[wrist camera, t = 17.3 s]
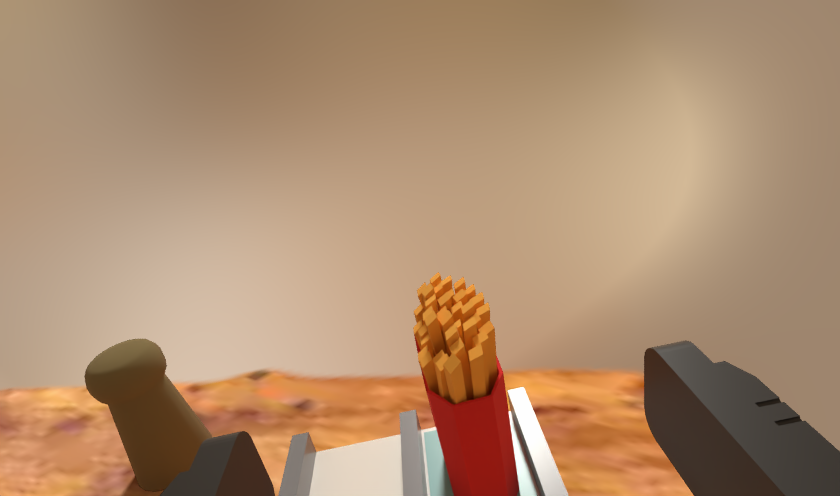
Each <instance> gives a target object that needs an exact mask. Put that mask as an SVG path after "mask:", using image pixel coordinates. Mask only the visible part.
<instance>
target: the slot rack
mask: <svg viewBox="0 0 840 496" xmlns="http://www.w3.org/2000/svg"><path fill="white" fill-rule="evenodd" d="M507 391H508V397H509V403H510V409H511V411H509V418H510V426H511V433H512V440H513V447H514V454H515V461H516V468H517V475H518V482H519V492H518V494H517V496H568V493H567V491H566V488H565V486H564V484H563V481H562V479H561V476H560V474H559V471H558V469H557V467H556V464H555V462H554V459H553V457H552V454H551V452H550V450H549V447H548V445H547V442H546V440H545V437H544V435H543V433H542V430H541V428H540V425H539V423H538V420H537V418H536V416H535V413H534V411H533V408H532V406H531V403H530V401H529V399H528V396H527V394H526V391H525V389H524V387H521V388H516V389H511V390H507ZM400 433H401V434H400V435H395V436H391V437H386V438H381V439H376V440H372V441H367V442H362V443H357V444H353V445H348V446H343V447H338V448H334V449H329V450H324V451H319V452H316V450H315V447H314V445H313V442H312V440H311V437H310V435H309V432H308V433H303V434H298V435H294V436H292V440H291V444H290V448H289V453H288V457H287V461H286V466H285V470H284V474H283V479H282V483H281V487H280V491H279V496H454V494H453V491H452V487H451V483H450V479H449V475H448V472H447V468H446V464H445V460H444V456H443V453H442V449H441V445H440V441H439V437H438V433H437V430H436V427H433V428H429V429H424V430H421V427H420V424H419V420H418V416H417V413H416V410H412V411H407V412H402V413H400Z"/></svg>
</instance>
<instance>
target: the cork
mask: <svg viewBox="0 0 840 496" xmlns="http://www.w3.org/2000/svg"><path fill="white" fill-rule="evenodd" d="M166 366H167V365H166V359H165V357H164V355H163V353H162V351H161V349H160V347H159V346H158V345H157V344H155V343H153V342H152V341H149V340H147V339H133V340H127V341H125V342H121V343H119V344H116V345H114V346H112V347H110V348H108V349H107V350H105V351H103V352H102V353H100V354H99V355H98V356H96V358H94V360H93V361H92V362H91V363H90V364H89V365H88V367H87V369H86V372H85V382H86V387H87V389H88V391H89V393H90V394H91V395H92V396H93V397H94V398H95V399H97V400H98V401H100V402H101V403H104V404H108V406H109V409H110V411H111V414H112V416H113V419H114V422H115V424H116V427H117V429H118V432H119V435H120V437H121V440H122V442H123V445H124V448H125V450H126V453H127V455H128V458H129V461H130V463H131V466H132V468H133V471H134V474H135V476H136V479H137V481H138V484H139V486H140V487H141V488H143V489H144V490H147V491H159V490H165V489H166V488H167V487H168V485H169V484H170V483H171V482H172V481H173V480H174V478H175V477H176V476H177V475H178V474H179V473H180V472H185V471H189V469H190V467H191V465H192V463H193V461H194V458H195V456H196V454H197V452H198V449H199V447H200V445H201V444H202V442H203V441H204V440H206V439H208V438H213V437H212V435H211V434H210V432H209V431H208V430H207V428H206V427H205V426H204V425H203V423H202V422H201V421H200V419H199V418H198V417H197V415H196V414H195V413H194V411H193V410H192V409H191V407H190V406H189V405H188V404H187V402H186V401H185V400H184V398H183V397H182V396H181V394H180V393H179V392H178V390H177V389H176V388H175V386H174V385H173V384H172V383H171V381H170V380H169V379H168V377H167V376H166V375H165V370H166Z"/></svg>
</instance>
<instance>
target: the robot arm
mask: <svg viewBox="0 0 840 496" xmlns="http://www.w3.org/2000/svg"><path fill="white" fill-rule="evenodd" d="M644 408H645V415H646V419H647V422H648V425H649V427H650V430H651V432H652V434H653V436H654V438H655V440H656V441H657V443H658V444H659V446H660V447H661V448H662V450H663V451H664V453H665V454H666V456H667V457H668V459H669V460H670V461H671V463H672V464H673V466H674V467H675V469H676V470H677V472H678V473H679V474H680V476H681V477H682V479H683V480H684V482H685V483H686V485H687V486H688V487H689V489H690V490H691V492H692V493H693V495H694V496H840V451H838V450H837V449H836V448H835V447H834V446H833V445H832V444H831V443H829V442H828V441H827V440H826V439H825V438H824V437H823V436H822V435H820V434H819V433H818V432H817V431H816V430H815V429H814V428H812V427H811V426H810V425H809V424H808V423H807V422H806V421H802V420H801V419H800V416H799V415H798V414H797V413H796V412H795V411H793V410H792V409H791V408H790V407H789V406H788V405H787V404H786V403H784V402H783V403H782V402H781V401H780V399H779V397H778V396H777V395H776V394H774V393H773V392H772V391H771V390H770V389H769V388H768V387H767V386H765V385H764V384H763V383H762V382H761V381H760V380H759V379H757V377H755V376H753V375H751V374H749V373H747V372H745V371H743V370H741V369H739V368H737V367H735V366H733V365H731V364H730V363H728V362H725V361H723V362H718V363H713V362H712V361H711V360H709V358H708V357H707V356H706V355H704V354H703V353H702V352H701V351H700V350H699V349H698V348H697V347H696V346H695V345H694V344H693V343H691V342H689V341H681V342H677V343H671V344H667V345H662V346H657V347H652V348H648V349H647V350H646V352H645V356H644ZM160 496H275V494H274V488H273V485H272V482H271V480H270V478H269V475H268V473H267V471H266V469H265V467H264V465H263V462H262V460H261V458H260V456H259V454H258V451H257V449H256V447H255V445H254V443H253V441H252V439H251V437H250V435H249V434H248V433H247V432H245V431H242V432H237V433H232V434H227V435H222V436H218V437H213V438H208V439H206V440H204V441H203V442H202V444H201V445H200V447H199V449H198V452H197V454H196V456H195V458H194V461H193V463H192V465H191V467H190V469H189V471H185V472H180V473H179V474H178V475H177V476H176V477H175V478H174V480H173V481H172V482H171V483H170V484H169V485H168V487H167V488H166V489H165V490H164V491H163V493H162V494H161V495H160Z"/></svg>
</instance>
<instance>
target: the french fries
mask: <svg viewBox="0 0 840 496" xmlns="http://www.w3.org/2000/svg"><path fill="white" fill-rule="evenodd" d="M454 288H455V295H454V291H453V289H452V279H451V276H449V277H447V278H446V279H444V280H443V281H441V276H440V274H439V272H438V273H437V274H436V275H435V276H433V277H432V278H431V279H430V284H429V285H428V286H426V283H424V284H423V285H422V286H421V287H420V288H419V289H418V290H417V293H418V297H419V300H420V302H421V304H420V305H419V306H418V308H417V309H416V310H415V311H414V314H415V318H416V322H417V325H415V327H414V328H413V329H414V336H415V341H416V346H417V351H418V359H419V363H420V366H421V370H422V375H423V379H424V384H425V388H426V391H427V395H428V399H429V403H430V407H431V411H432V414H433V418H434V422H435V426H436V430H437V433H438V437H439V441H440V445H441V449H442V453H443V456H444V460H445V464H446V468H447V472H448V475H449V479H450V483H451V487H452V491H453V494H454V496H517V494H518V492H519V482H518V475H517V468H516V461H515V454H514V447H513V440H512V433H511V426H510V418H509V411H508V404H507V397H506V390H505V383H504V376H503V371H502V368H501V366H500V363H499V361H498V358H497V356H496V346H495V329H494V327H493V325H492V323H491V322H490V308H489V304H488V303H486V304H484V297H483V293H482V292H481V293H479V294H478V295H475V294H476V293H475V287H474V284H473V285H471V286H470V287H469V288H467V289H466V287H465V280H464V277H463V278H461V279H460V280H459V281H457V282H456V283H455V284H454Z"/></svg>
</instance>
